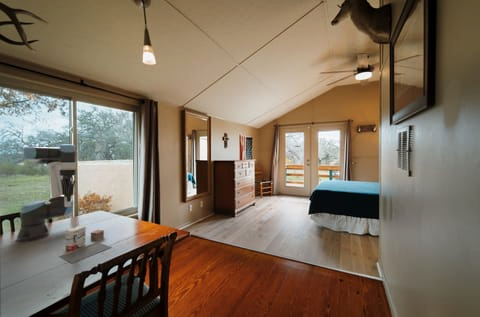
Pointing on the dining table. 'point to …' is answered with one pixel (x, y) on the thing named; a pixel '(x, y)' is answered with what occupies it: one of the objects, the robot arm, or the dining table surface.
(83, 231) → the ink box
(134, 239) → the dining table surface
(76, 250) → the oak strip
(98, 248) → the mat
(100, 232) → the walnut block
